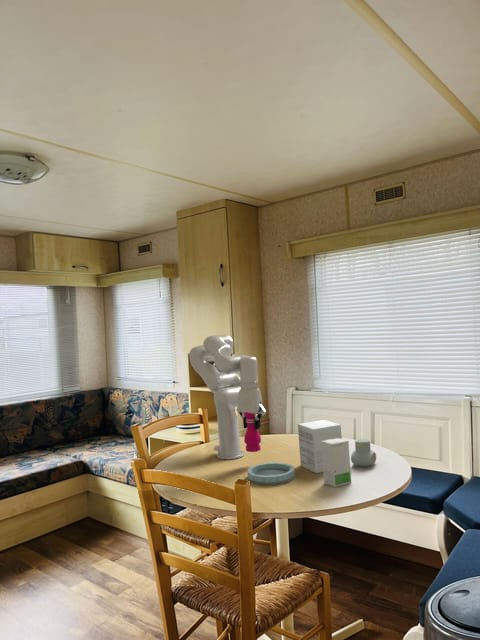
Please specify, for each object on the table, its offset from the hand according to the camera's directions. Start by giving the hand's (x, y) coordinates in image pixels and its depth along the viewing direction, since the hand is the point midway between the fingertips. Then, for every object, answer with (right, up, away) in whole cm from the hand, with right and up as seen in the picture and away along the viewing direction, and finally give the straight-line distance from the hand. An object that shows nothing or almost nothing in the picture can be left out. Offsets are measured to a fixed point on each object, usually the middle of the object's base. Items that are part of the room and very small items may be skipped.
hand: (252, 427), depth 205 cm
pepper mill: (+1, -10, 0) cm, 10 cm away
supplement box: (+29, -14, -8) cm, 33 cm away
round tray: (+7, -16, -17) cm, 24 cm away
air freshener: (+45, -13, -10) cm, 48 cm away
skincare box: (+31, -14, -29) cm, 44 cm away
